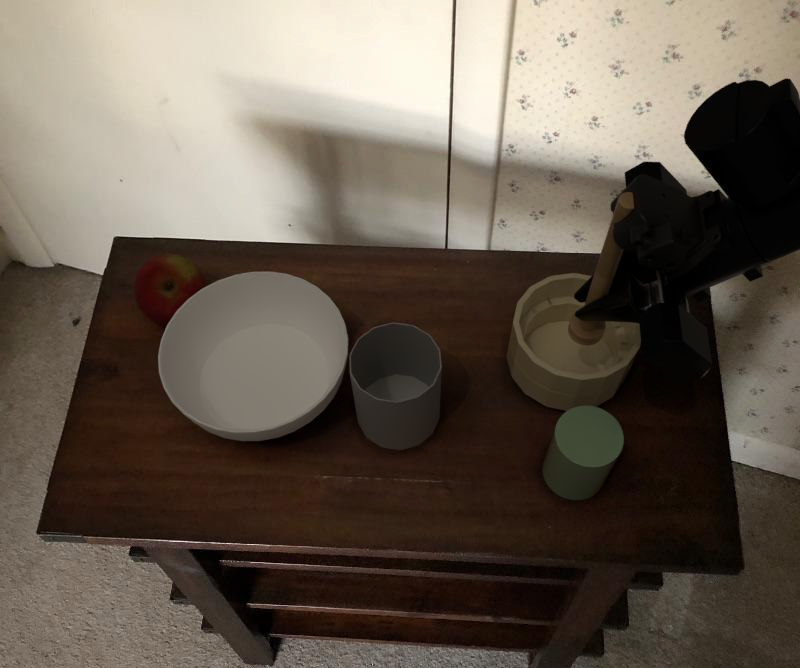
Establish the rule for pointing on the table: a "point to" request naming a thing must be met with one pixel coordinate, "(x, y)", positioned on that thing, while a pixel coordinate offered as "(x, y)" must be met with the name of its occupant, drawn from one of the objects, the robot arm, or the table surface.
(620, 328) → the mixing bowl
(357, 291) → the table surface
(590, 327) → the stirring stick
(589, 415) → the green cylinder pedestal
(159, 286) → the apple
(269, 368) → the bowl
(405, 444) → the cup
